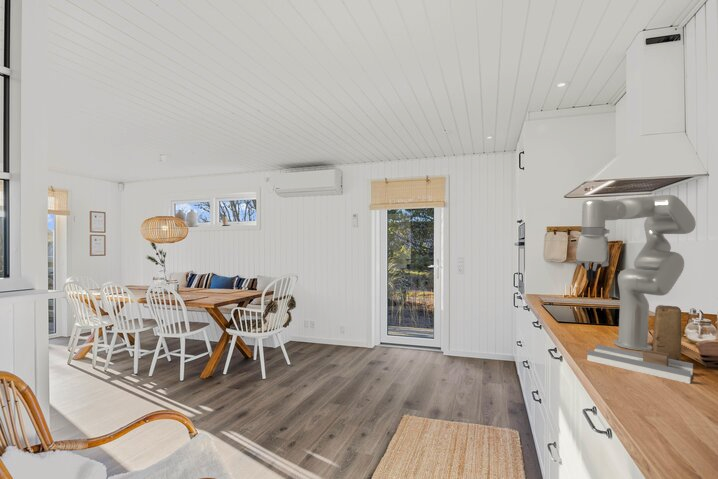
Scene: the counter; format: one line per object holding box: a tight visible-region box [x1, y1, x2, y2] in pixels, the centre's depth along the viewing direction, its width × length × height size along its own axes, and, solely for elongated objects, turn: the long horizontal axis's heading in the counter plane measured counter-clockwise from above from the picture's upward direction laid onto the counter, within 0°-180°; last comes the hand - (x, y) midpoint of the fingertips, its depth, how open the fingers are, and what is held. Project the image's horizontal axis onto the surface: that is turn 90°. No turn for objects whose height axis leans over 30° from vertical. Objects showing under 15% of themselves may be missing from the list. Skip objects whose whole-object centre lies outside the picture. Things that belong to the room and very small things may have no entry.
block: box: [652, 304, 682, 361], centre depth 130 cm, size 11×8×20 cm
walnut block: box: [642, 350, 669, 367], centre depth 121 cm, size 5×6×4 cm
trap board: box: [586, 344, 694, 385], centre depth 125 cm, size 12×27×4 cm, turn 45°
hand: (591, 280), depth 140 cm, fingers closed
